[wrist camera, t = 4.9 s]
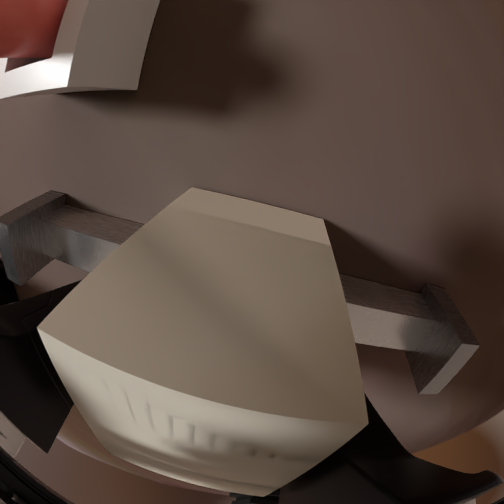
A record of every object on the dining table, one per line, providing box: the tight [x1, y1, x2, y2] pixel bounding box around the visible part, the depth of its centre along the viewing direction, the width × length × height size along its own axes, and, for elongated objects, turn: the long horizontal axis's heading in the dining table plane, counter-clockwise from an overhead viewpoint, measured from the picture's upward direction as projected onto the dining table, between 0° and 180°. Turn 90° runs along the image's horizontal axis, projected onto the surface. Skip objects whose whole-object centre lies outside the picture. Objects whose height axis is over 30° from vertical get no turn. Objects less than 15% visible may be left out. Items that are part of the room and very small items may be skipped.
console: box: [0, 0, 160, 100], centre depth 6 cm, size 5×5×4 cm
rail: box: [0, 191, 480, 394], centre depth 10 cm, size 3×20×4 cm, turn 78°
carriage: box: [37, 187, 369, 497], centre depth 8 cm, size 6×5×8 cm
